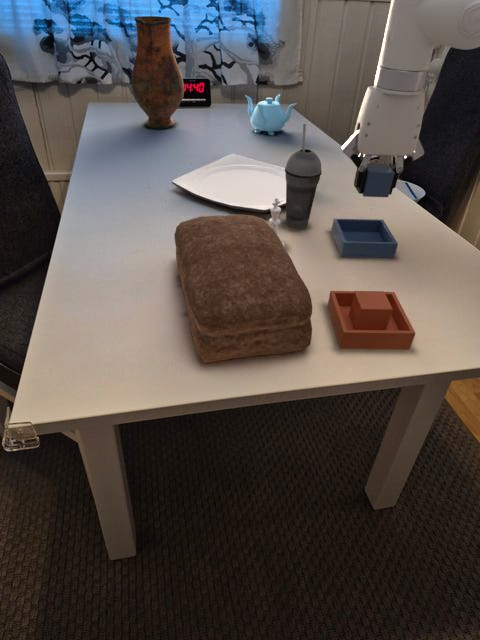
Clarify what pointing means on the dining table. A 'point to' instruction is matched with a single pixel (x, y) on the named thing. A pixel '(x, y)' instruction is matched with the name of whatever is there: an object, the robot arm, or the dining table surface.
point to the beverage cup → (301, 185)
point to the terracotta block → (370, 310)
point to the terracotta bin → (348, 338)
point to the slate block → (378, 180)
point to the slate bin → (363, 238)
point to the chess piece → (275, 216)
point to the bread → (241, 288)
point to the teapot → (268, 115)
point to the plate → (237, 183)
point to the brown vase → (156, 72)
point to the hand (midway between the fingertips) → (373, 190)
